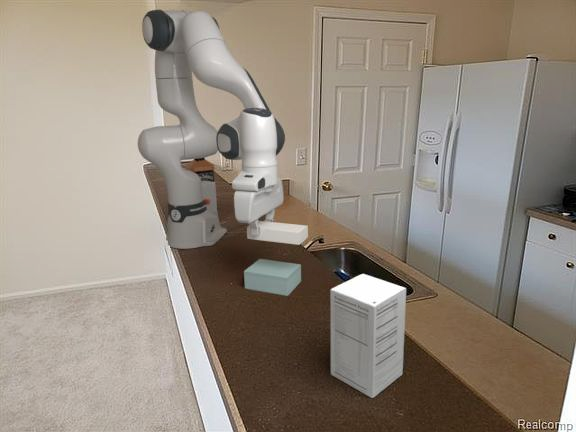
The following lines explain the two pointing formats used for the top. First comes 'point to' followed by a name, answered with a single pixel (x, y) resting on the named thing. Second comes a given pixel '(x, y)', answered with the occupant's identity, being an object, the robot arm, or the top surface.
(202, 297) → the top surface
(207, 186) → the skincare box
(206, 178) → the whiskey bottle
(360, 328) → the supplement box
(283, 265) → the case
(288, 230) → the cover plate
